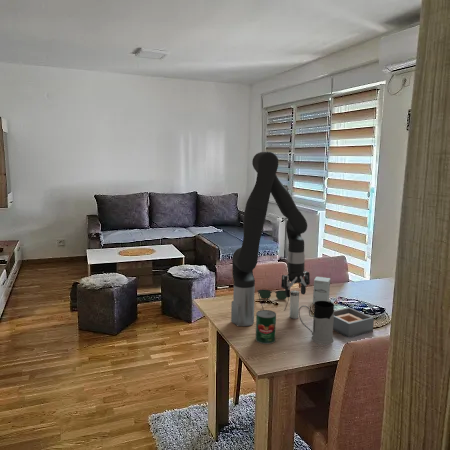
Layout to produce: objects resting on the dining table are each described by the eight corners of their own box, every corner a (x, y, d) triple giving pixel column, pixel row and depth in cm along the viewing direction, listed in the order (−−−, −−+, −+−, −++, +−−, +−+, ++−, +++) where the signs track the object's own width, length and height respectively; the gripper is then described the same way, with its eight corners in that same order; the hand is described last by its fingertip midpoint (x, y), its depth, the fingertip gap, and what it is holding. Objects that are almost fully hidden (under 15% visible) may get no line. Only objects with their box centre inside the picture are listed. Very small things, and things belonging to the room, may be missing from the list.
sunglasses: (256, 310, 195) (257, 300, 194) (257, 298, 212) (257, 289, 211) (291, 311, 194) (291, 301, 193) (289, 299, 210) (289, 290, 210)
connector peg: (293, 319, 183) (294, 293, 181) (287, 316, 187) (288, 291, 185) (300, 317, 185) (301, 292, 183) (294, 314, 189) (295, 290, 187)
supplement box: (312, 304, 203) (313, 279, 201) (314, 299, 210) (315, 276, 208) (327, 306, 200) (328, 281, 198) (329, 301, 207) (330, 277, 205)
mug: (334, 345, 158) (336, 308, 155) (297, 342, 160) (299, 306, 158) (332, 335, 166) (334, 300, 164) (297, 333, 168) (298, 298, 166)
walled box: (348, 337, 164) (349, 323, 163) (324, 325, 177) (325, 312, 176) (372, 331, 171) (373, 317, 170) (348, 319, 183) (349, 307, 182)
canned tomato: (261, 345, 157) (262, 318, 155) (252, 337, 164) (252, 311, 162) (279, 341, 160) (279, 315, 158) (269, 334, 167) (269, 308, 166)
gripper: (288, 264, 175) (287, 300, 178) (314, 260, 182) (313, 295, 184) (278, 261, 182) (277, 295, 184) (303, 257, 188) (302, 290, 191)
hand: (295, 295), depth 184 cm, fingers open, 8 cm apart
